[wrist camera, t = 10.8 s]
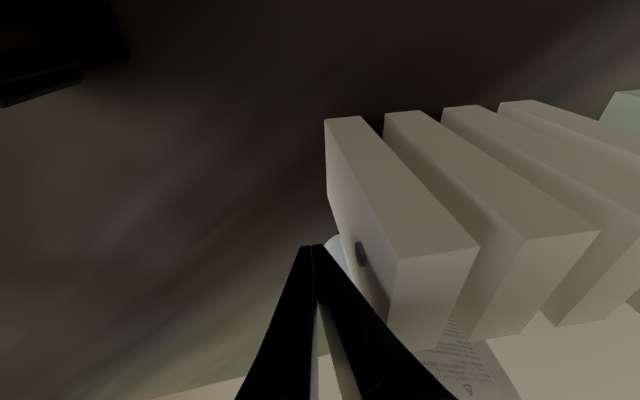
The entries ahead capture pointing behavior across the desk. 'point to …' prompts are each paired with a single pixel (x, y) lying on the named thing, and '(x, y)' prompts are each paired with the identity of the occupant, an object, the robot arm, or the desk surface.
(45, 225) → the desk surface
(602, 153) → the domino
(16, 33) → the robot arm
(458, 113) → the domino
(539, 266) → the domino
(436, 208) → the domino
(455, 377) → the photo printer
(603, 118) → the domino
